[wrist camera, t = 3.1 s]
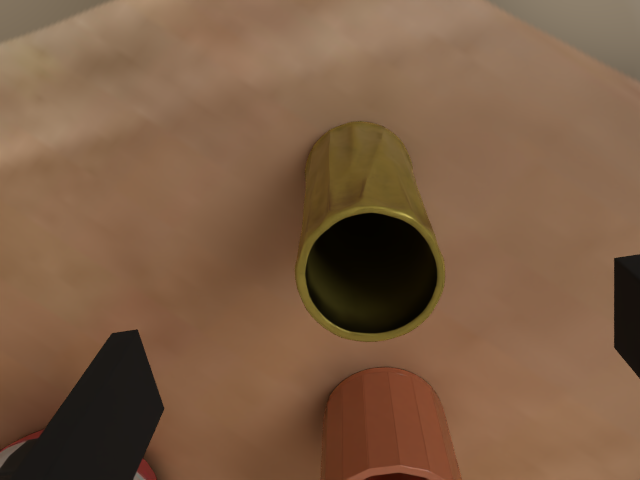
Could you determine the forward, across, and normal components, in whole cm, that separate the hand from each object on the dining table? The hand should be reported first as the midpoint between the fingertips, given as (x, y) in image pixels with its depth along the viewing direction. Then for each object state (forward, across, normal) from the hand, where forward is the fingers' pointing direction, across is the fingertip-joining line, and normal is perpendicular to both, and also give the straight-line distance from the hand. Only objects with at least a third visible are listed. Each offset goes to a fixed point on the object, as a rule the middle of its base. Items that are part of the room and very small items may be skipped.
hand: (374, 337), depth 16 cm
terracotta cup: (+18, +1, +17) cm, 25 cm away
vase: (+19, 0, 0) cm, 19 cm away
